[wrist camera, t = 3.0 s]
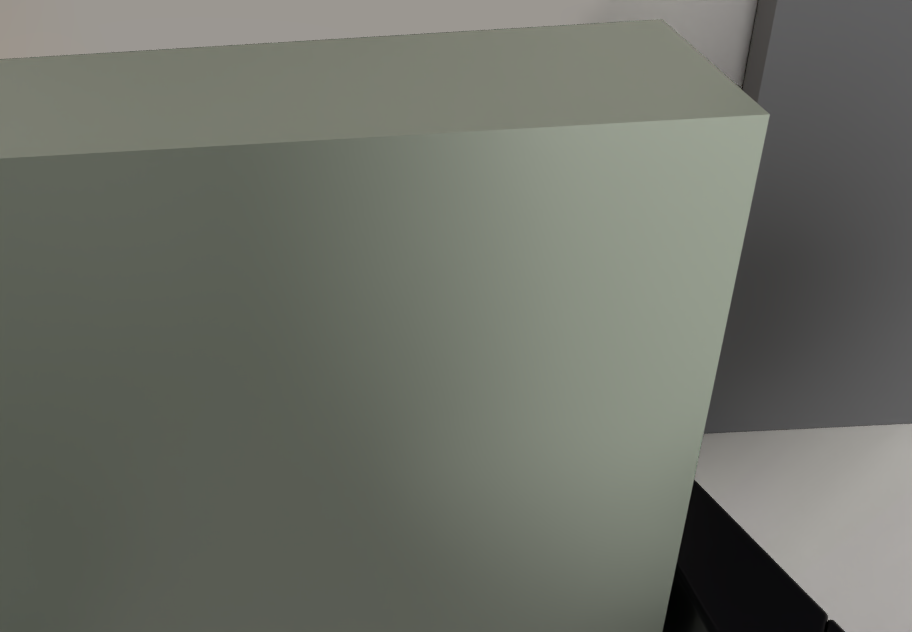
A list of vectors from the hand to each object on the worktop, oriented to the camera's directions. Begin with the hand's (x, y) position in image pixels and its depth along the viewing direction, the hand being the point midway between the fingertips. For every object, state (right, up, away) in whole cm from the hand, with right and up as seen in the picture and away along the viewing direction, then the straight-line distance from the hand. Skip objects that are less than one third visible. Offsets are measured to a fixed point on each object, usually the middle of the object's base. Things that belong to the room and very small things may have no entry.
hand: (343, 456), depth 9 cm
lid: (0, 0, -1) cm, 1 cm away
